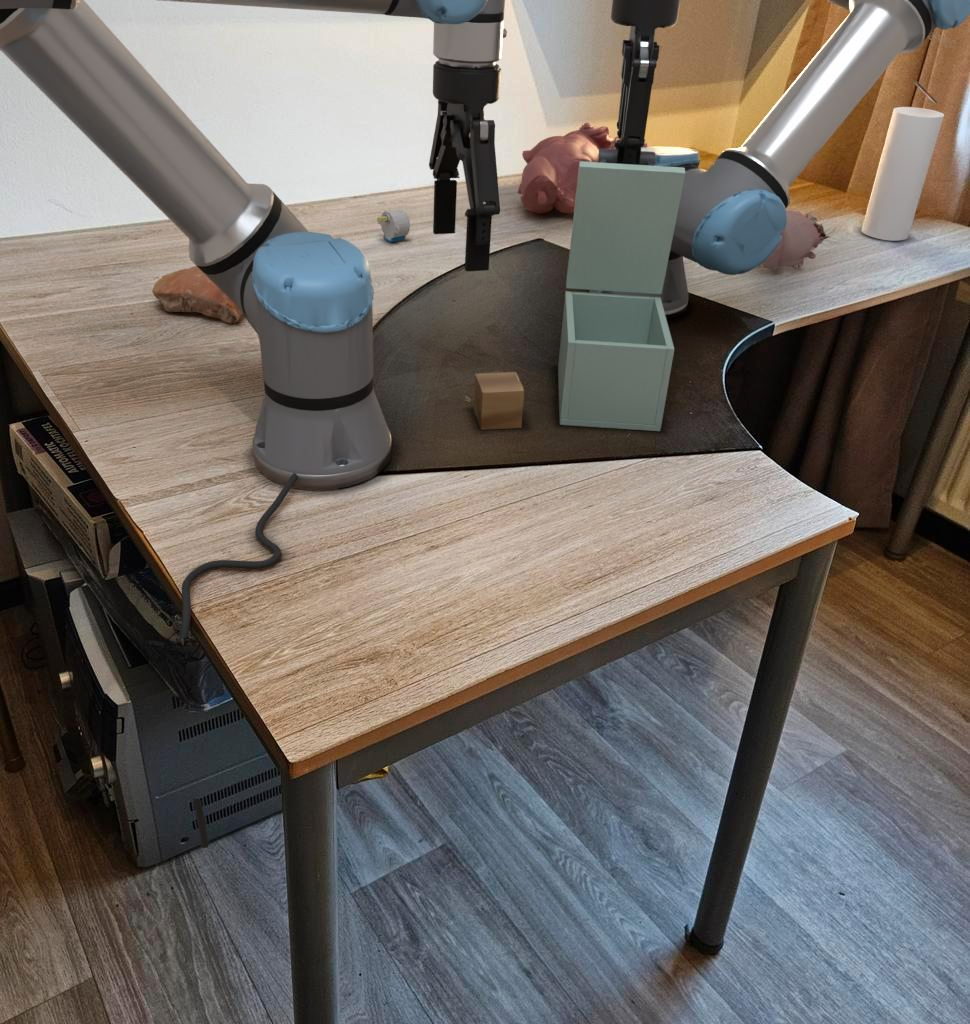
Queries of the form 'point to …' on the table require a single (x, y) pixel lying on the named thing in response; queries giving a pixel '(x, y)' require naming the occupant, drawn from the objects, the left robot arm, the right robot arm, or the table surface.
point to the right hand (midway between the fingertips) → (622, 197)
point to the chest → (614, 361)
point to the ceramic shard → (195, 295)
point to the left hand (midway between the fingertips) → (459, 250)
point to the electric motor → (394, 225)
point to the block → (498, 400)
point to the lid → (623, 224)
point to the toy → (796, 241)
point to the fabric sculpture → (560, 167)
